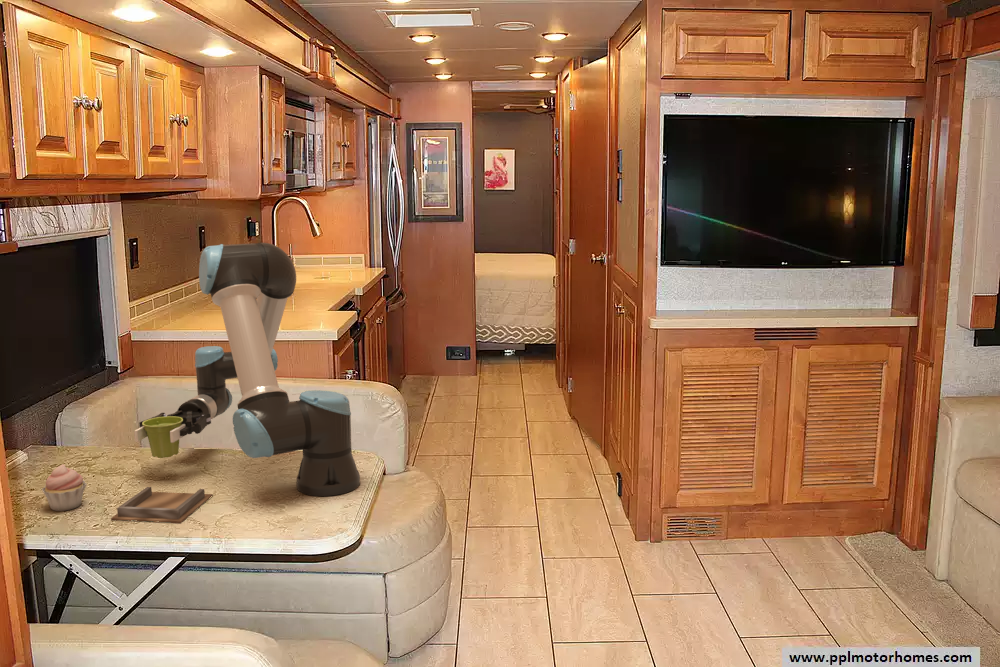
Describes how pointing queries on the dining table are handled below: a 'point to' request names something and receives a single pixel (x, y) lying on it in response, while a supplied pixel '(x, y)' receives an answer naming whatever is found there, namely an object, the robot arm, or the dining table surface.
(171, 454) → the plant pot
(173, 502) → the keeper bracket
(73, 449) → the dining table surface
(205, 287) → the robot arm
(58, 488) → the cupcake
